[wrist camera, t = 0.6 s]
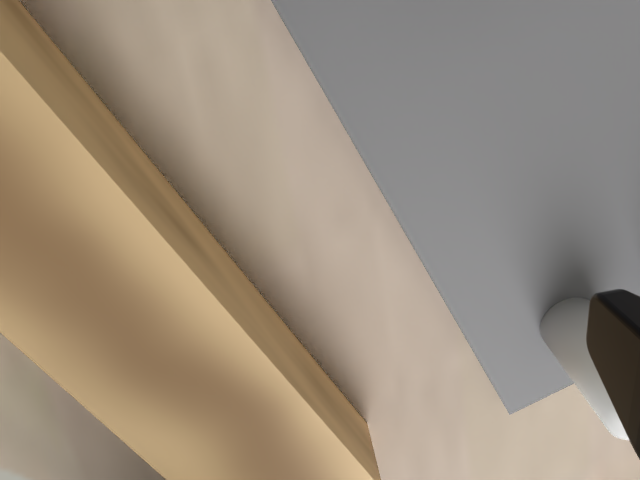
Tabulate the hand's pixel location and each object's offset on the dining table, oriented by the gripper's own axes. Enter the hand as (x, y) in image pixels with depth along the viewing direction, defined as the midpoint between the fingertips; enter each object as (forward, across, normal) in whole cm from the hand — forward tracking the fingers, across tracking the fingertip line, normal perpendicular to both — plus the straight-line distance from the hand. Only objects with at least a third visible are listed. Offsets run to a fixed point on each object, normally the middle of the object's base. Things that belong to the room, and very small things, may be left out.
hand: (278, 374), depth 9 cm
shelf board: (+13, +6, +6) cm, 15 cm away
